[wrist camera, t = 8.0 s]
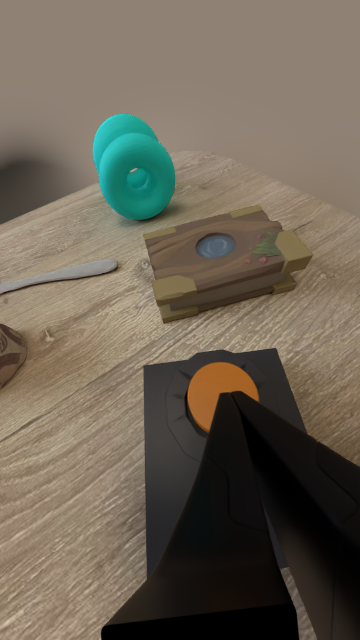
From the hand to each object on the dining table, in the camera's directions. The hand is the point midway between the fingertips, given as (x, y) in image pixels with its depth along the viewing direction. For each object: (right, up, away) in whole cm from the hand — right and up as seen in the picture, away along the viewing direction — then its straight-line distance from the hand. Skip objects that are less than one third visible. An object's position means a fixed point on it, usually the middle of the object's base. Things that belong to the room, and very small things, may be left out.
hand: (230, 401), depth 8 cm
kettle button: (0, -2, +4) cm, 5 cm away
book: (+2, +9, +17) cm, 20 cm away
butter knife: (-23, +7, +19) cm, 31 cm away
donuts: (-8, +22, +26) cm, 35 cm away
